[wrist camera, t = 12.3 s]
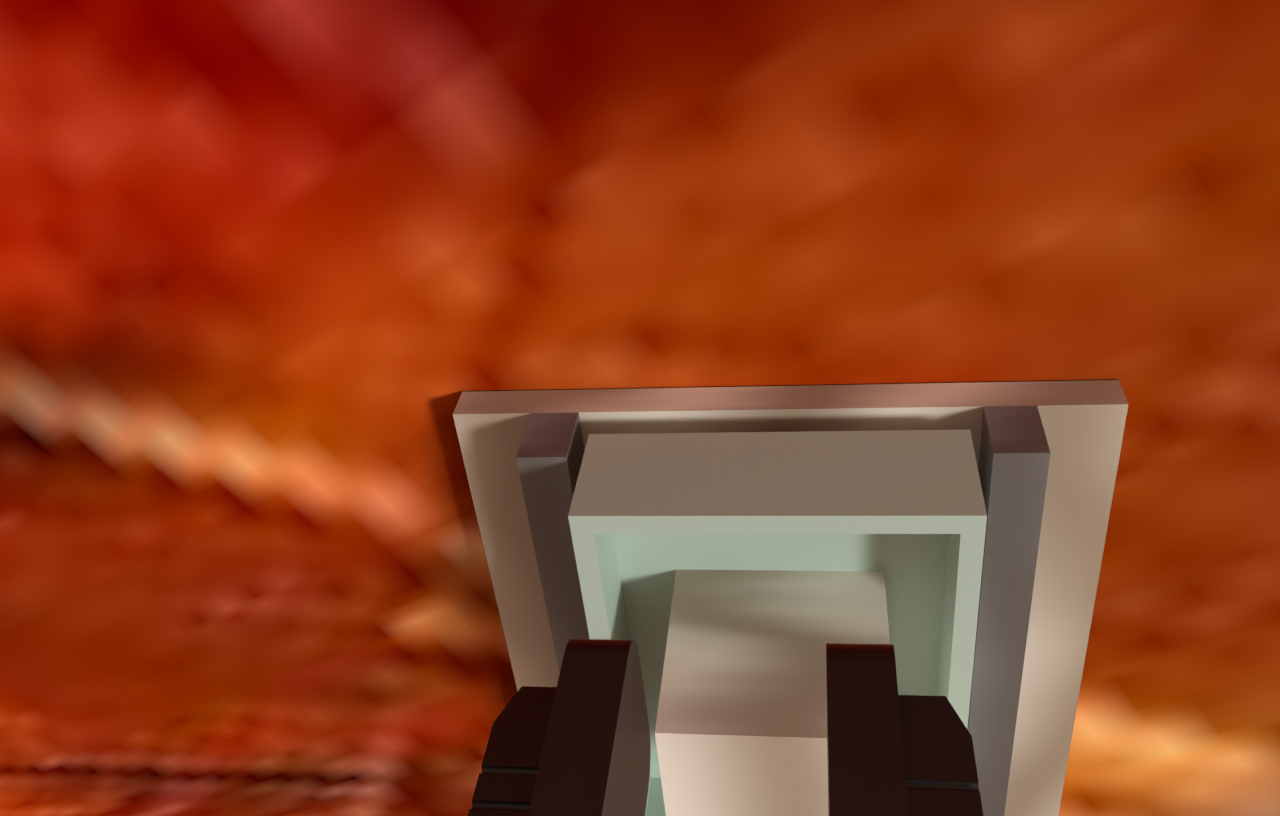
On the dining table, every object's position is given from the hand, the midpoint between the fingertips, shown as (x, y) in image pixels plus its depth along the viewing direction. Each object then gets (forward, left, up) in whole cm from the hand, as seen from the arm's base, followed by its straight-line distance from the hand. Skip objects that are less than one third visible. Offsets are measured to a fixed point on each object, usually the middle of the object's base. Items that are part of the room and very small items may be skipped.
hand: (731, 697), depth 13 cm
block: (0, -12, -12) cm, 17 cm away
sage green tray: (0, -12, -14) cm, 18 cm away
